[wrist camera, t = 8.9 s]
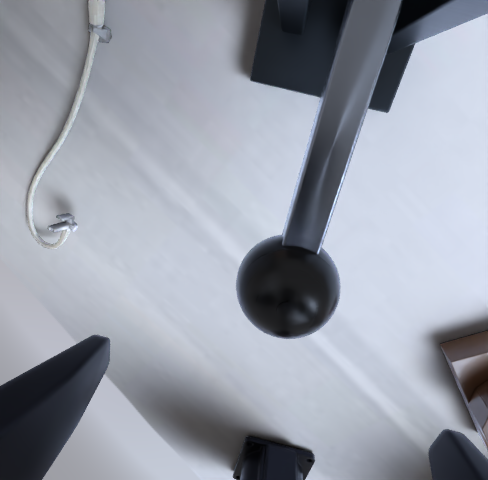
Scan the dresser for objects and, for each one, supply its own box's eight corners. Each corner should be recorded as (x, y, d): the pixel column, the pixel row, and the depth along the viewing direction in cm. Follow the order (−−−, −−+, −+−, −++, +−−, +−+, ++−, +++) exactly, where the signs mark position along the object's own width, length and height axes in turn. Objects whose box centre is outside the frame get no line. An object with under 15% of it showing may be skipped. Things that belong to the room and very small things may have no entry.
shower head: (-25, 245, 20) (-17, -201, 12) (29, 233, 23) (63, -129, 15) (36, 286, 18) (88, -182, 11) (84, 267, 21) (152, -108, 14)
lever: (316, 313, 12) (328, 374, 9) (234, 292, 12) (218, 345, 9) (479, -146, 7) (614, -336, 4) (346, -173, 8) (390, -375, 5)
